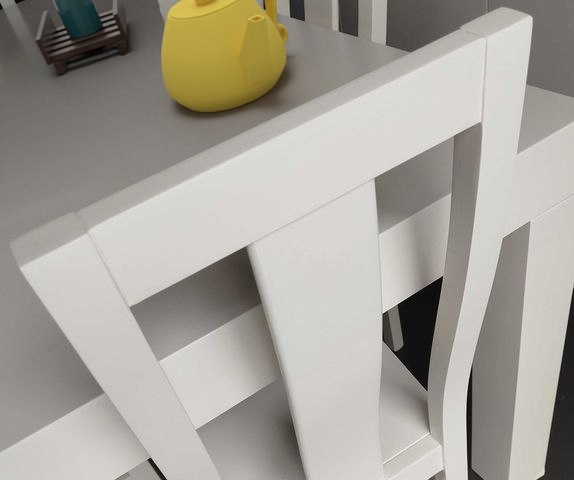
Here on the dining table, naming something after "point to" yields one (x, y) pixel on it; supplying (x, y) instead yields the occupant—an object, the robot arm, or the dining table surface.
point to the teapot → (221, 52)
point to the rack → (61, 46)
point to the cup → (78, 17)
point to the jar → (166, 7)
